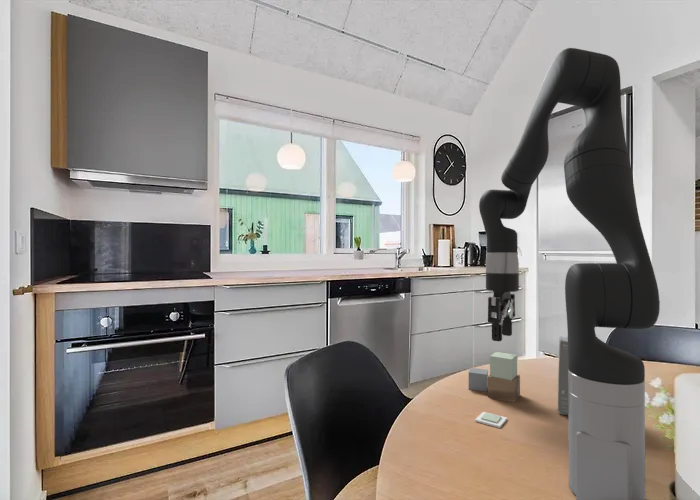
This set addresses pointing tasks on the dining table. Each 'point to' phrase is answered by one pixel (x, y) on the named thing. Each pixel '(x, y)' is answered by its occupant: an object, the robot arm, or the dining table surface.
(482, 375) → the slate block
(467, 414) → the dining table surface
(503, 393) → the walnut block
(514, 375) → the sage block
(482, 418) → the tile
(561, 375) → the skincare box
